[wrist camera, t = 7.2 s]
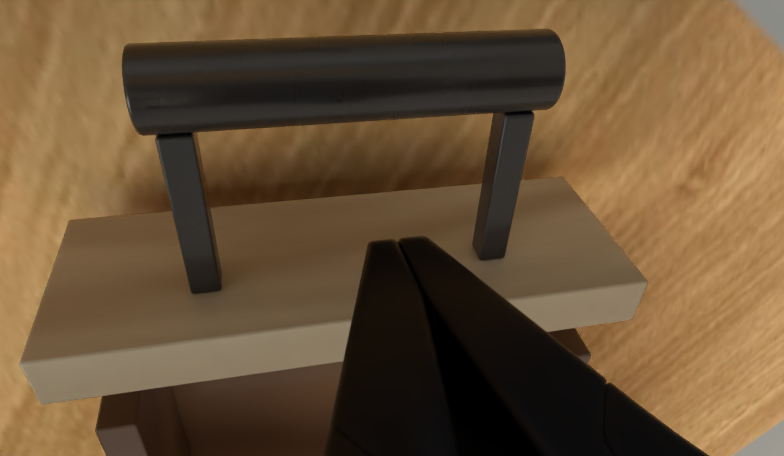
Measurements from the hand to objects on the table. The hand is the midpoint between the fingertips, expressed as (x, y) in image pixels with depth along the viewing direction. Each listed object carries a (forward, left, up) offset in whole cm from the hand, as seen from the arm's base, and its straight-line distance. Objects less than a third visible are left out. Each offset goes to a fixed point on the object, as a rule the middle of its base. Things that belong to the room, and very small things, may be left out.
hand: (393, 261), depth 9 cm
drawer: (0, -7, -6) cm, 9 cm away
